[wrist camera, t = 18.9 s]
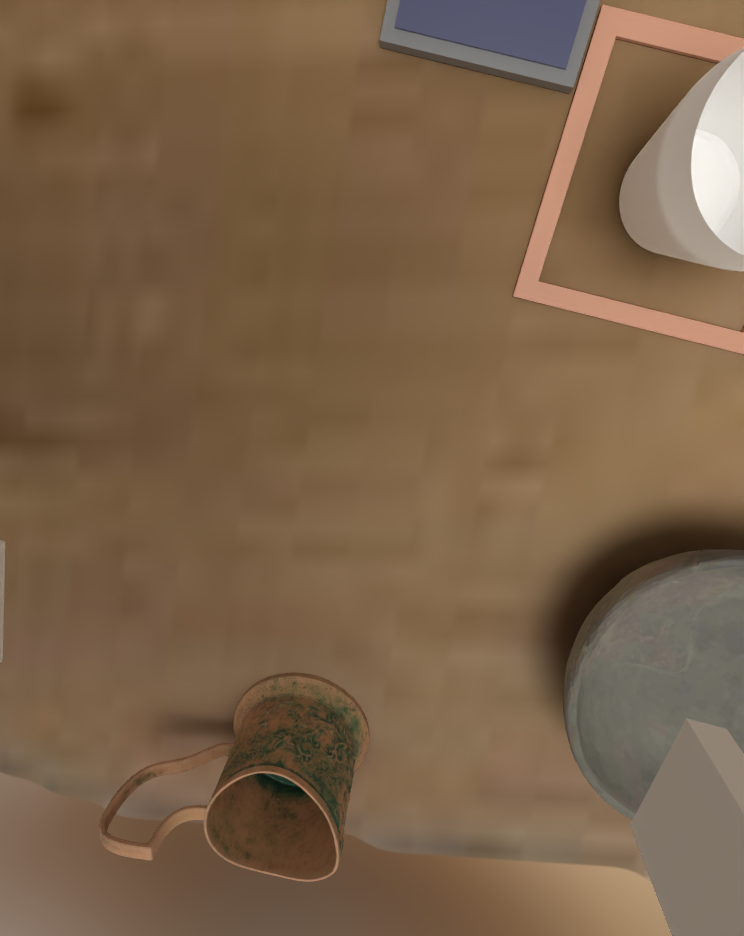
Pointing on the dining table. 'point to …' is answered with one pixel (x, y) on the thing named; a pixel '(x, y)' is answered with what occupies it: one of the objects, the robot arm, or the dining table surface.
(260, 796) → the mug
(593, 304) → the mark frame
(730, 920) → the robot arm
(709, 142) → the cup
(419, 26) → the ink pad
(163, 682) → the dining table surface
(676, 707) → the bowl
